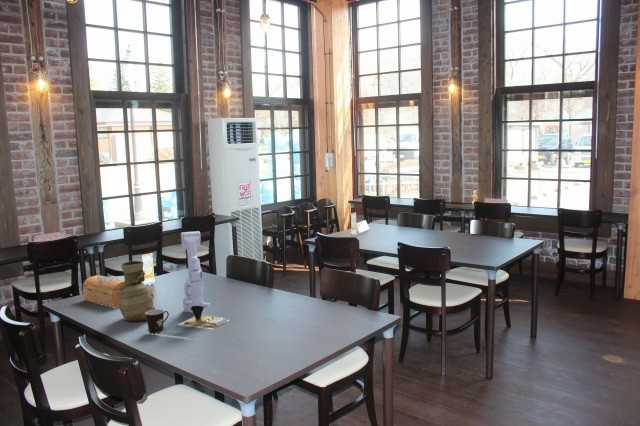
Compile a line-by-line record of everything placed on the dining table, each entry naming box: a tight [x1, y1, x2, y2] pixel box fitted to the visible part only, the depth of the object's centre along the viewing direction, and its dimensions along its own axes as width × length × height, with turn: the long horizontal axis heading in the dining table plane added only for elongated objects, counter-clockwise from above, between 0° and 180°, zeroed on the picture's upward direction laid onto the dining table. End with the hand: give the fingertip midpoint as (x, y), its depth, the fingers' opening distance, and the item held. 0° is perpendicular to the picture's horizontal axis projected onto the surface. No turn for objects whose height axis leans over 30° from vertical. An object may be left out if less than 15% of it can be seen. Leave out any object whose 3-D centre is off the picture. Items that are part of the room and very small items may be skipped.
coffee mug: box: [145, 308, 170, 335], centre depth 282 cm, size 12×9×10 cm
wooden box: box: [82, 274, 125, 308], centre depth 337 cm, size 30×16×14 cm, turn 53°
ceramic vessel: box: [118, 260, 156, 323], centre depth 303 cm, size 19×21×30 cm
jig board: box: [177, 315, 230, 330], centre depth 291 cm, size 21×15×2 cm
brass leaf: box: [195, 315, 213, 323], centre depth 290 cm, size 7×8×2 cm
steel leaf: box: [204, 316, 226, 328], centre depth 288 cm, size 7×8×2 cm
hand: (198, 320), depth 292 cm, fingers closed
